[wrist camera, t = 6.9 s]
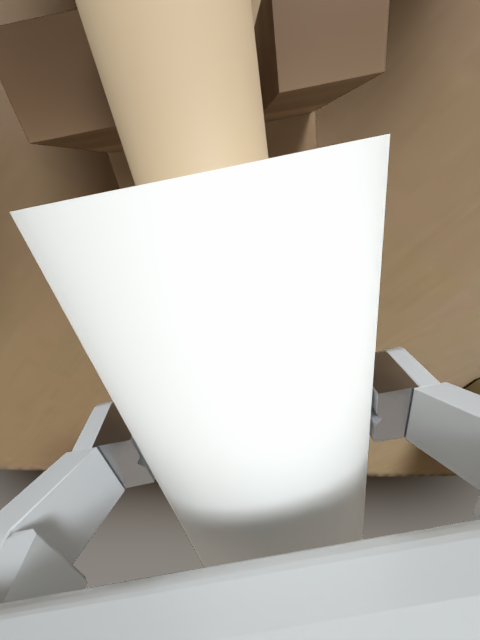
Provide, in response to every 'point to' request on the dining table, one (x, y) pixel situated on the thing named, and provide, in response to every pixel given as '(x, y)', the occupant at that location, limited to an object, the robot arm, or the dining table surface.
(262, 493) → the paper roll
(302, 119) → the roll holder
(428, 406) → the robot arm
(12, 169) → the dining table surface
